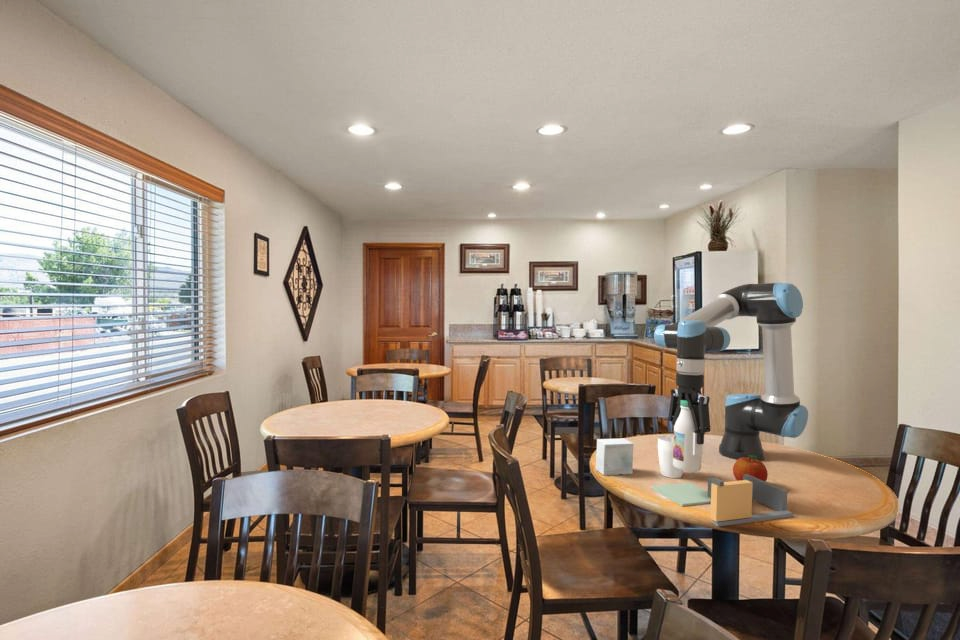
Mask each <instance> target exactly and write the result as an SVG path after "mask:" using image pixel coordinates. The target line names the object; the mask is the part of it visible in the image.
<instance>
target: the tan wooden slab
mask: <svg viewBox="0 0 960 640" xmlns="http://www.w3.org/2000/svg"><path fill="white" fill-rule="evenodd" d="M711 478H712V483H711V503H710V518H709V519H711V520H714V521H716V522H718V521H726V520H733V519H741V518H749V517H751V515H752V513H753V511H752V510H753V506H752V505H753V499H752V485H753V483H752V482H750V481H748V480H740V481H737V480H734V481H733V480H732V481H723V480H722V479H719V478H717V477H711Z"/></svg>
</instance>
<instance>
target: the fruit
mask: <svg viewBox="0 0 960 640" xmlns="http://www.w3.org/2000/svg"><path fill="white" fill-rule="evenodd" d="M756 458H757V457H756V456H754V455H748V457H743V458H739V459H736V461H735V462H734V464H733V467H732V472H733V476H734V479H735V481H740V480H743V475H744V474H748V475H750V476H753V477H755V478H758V479H760V480H763V481H765V482H767V480H768V477H769V476H768V475H769V474H768V469H767V467H766V465H765V464H764V463H763V462H762V460H756Z"/></svg>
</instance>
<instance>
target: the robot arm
mask: <svg viewBox="0 0 960 640" xmlns="http://www.w3.org/2000/svg"><path fill="white" fill-rule="evenodd" d="M803 309H804V301H803V296H802V294H801V292H800V289H799V288H798V287H797V286H796V285H794V284H793V283H788V282H787V283H786V282H766V283H746V284H741V285H738V286H735V287H732V288H730V289H728V290H726V291H724V292H722V293H720V294H717V295H716V296H715V297H714V298H713V301H711V302H710V303H708V304H706V305H704V306H703V307H701V308H699V309H698V310H696V311H694V312H692V313H690V314H689V315H687V316H685V317H682V318H681V319H679V320H678V321H675V322H673V323H672V324H660V325H658V326H657V327H656V328H655V330H654V332H653V338H654V343H655V344H656V346H658V347H660V348H665V349H674V350H677V351H676V370H675V371H677V373H676V374H675V385H676V386H678V387H677V388H673V389H670V403H669V404H670V405H669V410H668V418H667V419H668V421H669V422H671V424H672V425H673V427H672V436H674V427H675V423H676V421H677V419H678V417H679V415H680V412H681V407H680V406H681V405H680V401H681V400H686V401H687V402H688V407H689V409H690V410H691V413H692V418H693V422H694V426H695V430H696V431H694V432H693V455H694V456H695V455H702V456H703V453H704V451H703V445H704V443H705V433H710V432H711V421H710V409H709V408H710V406H709V404H710V396H707V395H706V396H705V395H703V394H702V388H703V387H704V386H705V385H704V384H705V376H704V373H705V355H706V353H711V352H712V353H718V352H722V351H725V350H726V349H728V347H729V346H730V344H731V335H730V333H729V332H728V330H726V329H725V328H723V327H722V326H721V327H720V326H717V325H719V324H720V323H722V322H724V321H726V320H733V319H735V318H736V317H752V318H754V317H755V319H756V323H757V325H759V326H760V327H761V332H762V333H761V334H762V349H763V350H762V351H763V365H764V370H763V371H764V384H765V393H764V394H763V395H761V394H759V393H733V394H732V393H731V394H728V395H727V396H726V398H725V404H724V432H723V433H724V434H723V436H722V438H721V442H720V444H719V446H718V453H719V454H721V455H722V456H724V457H728V458H730V459H736V460H738V459H739V458H743V457H748V455H754V456H756V457H757V458H756V460H759V461H762V460H764V459H765V451H764V448H763V445H762V441H761V437H760V433H761V432H762V433H765V434H766V433H767V434H770V435H775V436H778V437H779V436H780V437H783V438H786V437H787V438H792V439H795V438H798V437H799V436H801V435H802V434H803V433H804V430H805V429H806V426H807V425H808V424H807V423H808V420H809V411H808V408H807V407H806V406H805V405H803V404H801V400H800V399H801V398H800V397H799V396H798V395H797V394H796V393H795V381H794V363H793V362H794V361H793V344H792V343H793V342H792V326H793V325H794V324H795V323H797V318H799V317H800V316H801V314H802V313H803ZM696 404H697V406H693V405H696ZM699 427H700V428H699Z"/></svg>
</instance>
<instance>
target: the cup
mask: <svg viewBox="0 0 960 640" xmlns="http://www.w3.org/2000/svg"><path fill="white" fill-rule="evenodd" d="M673 442H674V435H668V434H666V435H665V434H663V435H659V436H658V437H657V455H658V463H659V471H660V475H661V476H663V477H666V478H669V479H679V478H682V477H683V472H684V471H683V470H679V469H676V468H675V467H674V466H673Z"/></svg>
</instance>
